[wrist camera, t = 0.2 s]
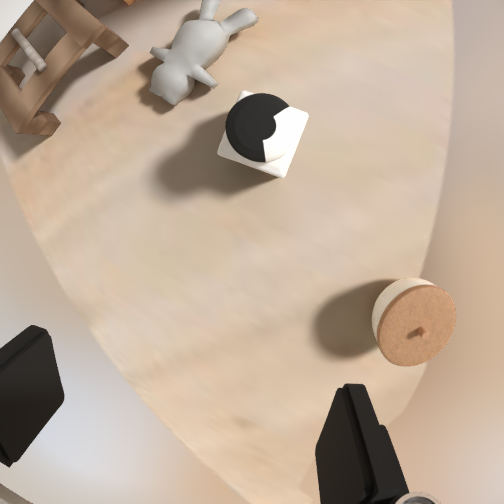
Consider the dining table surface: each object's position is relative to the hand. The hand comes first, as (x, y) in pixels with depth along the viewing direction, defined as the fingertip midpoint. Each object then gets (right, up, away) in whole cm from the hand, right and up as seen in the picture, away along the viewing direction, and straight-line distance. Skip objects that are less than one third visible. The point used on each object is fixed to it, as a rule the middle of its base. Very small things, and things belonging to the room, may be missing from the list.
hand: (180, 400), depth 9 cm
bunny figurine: (-4, +29, +25) cm, 39 cm away
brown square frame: (-26, +33, +25) cm, 49 cm away
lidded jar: (+22, -3, +32) cm, 39 cm away
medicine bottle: (+4, +18, +28) cm, 33 cm away
